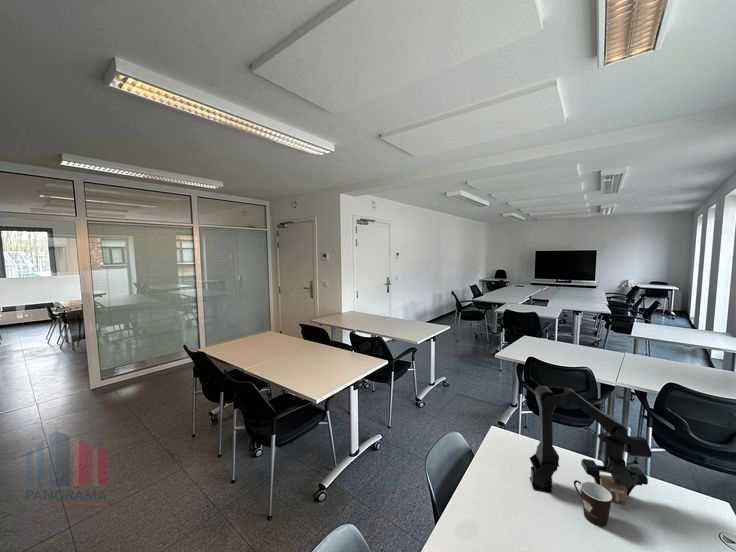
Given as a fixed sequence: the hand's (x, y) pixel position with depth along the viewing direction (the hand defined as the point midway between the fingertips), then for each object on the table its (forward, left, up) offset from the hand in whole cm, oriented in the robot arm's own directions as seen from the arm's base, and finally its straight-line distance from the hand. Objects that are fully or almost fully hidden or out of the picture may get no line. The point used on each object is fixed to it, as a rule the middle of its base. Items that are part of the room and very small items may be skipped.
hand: (612, 492), depth 110 cm
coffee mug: (-10, -11, -2) cm, 16 cm away
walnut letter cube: (0, 0, -2) cm, 2 cm away
